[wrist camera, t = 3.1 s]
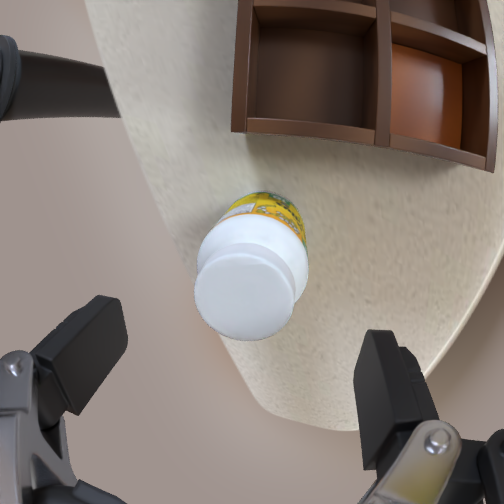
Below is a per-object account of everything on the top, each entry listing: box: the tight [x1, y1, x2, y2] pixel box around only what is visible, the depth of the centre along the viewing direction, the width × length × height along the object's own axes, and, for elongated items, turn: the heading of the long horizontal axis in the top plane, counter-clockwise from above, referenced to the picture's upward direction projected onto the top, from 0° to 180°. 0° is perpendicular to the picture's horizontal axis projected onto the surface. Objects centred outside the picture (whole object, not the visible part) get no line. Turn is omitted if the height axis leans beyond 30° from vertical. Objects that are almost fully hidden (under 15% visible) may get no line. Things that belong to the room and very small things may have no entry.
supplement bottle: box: [194, 191, 309, 341], centre depth 16 cm, size 5×5×10 cm
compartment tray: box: [231, 0, 498, 173], centre depth 13 cm, size 15×15×4 cm
